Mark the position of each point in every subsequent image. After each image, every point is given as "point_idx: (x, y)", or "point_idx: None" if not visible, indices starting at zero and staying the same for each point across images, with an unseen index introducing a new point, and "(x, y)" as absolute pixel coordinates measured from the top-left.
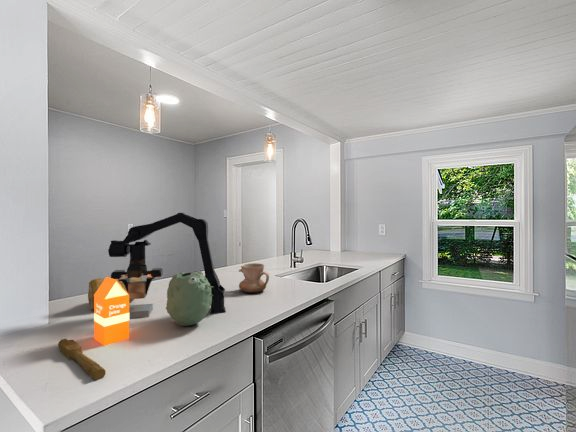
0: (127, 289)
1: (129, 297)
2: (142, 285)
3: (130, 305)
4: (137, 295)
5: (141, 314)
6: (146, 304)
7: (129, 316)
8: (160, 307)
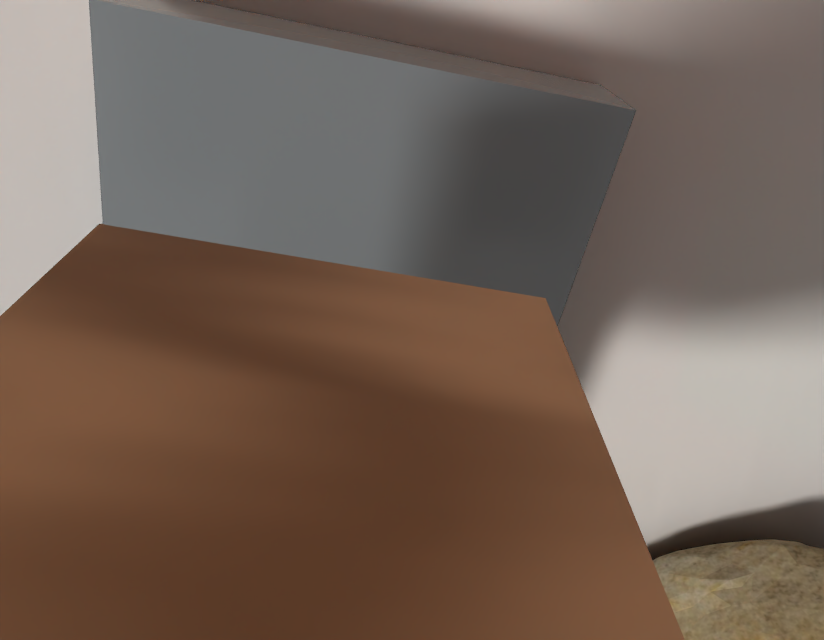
0: None
1: (520, 319)
2: None
3: None
4: (284, 309)
5: (258, 23)
6: None
7: (473, 60)
8: None
